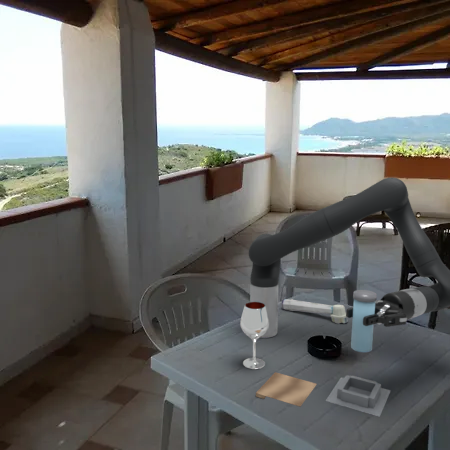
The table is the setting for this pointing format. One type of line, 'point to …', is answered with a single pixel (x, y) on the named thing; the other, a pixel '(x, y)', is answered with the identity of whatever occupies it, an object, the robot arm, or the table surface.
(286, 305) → the toothbrush head
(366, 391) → the cartridge housing
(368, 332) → the filter cartridge
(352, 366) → the table surface
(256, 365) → the wineglass
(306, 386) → the light brown wooden board
